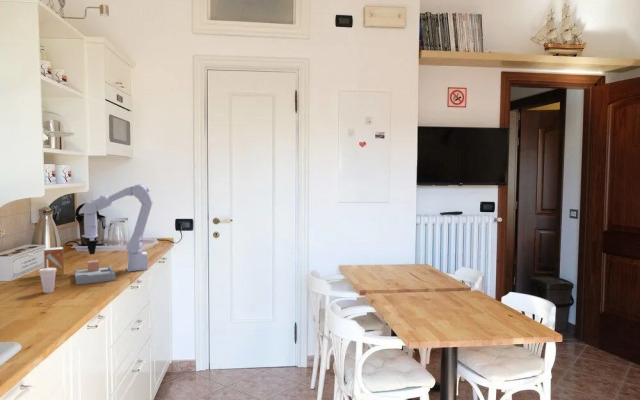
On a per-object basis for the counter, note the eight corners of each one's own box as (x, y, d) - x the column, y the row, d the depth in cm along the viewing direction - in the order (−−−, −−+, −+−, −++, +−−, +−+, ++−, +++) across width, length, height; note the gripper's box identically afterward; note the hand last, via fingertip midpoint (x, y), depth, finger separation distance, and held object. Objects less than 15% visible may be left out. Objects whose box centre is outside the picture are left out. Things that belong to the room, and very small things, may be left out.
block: (97, 268, 220) (97, 260, 220) (98, 270, 216) (98, 261, 216) (87, 270, 218) (87, 261, 218) (88, 271, 214) (88, 262, 214)
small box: (44, 277, 212) (43, 250, 211) (44, 274, 217) (43, 248, 216) (64, 274, 216) (63, 248, 215) (63, 272, 221) (62, 246, 220)
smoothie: (38, 294, 182) (37, 261, 181) (40, 290, 188) (39, 258, 187) (57, 292, 185) (55, 259, 184) (57, 289, 191) (56, 257, 190)
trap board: (110, 270, 225) (110, 264, 225) (115, 280, 206) (115, 273, 206) (74, 274, 217) (74, 267, 216) (76, 284, 198) (76, 277, 197)
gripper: (81, 225, 226) (81, 251, 227) (82, 228, 214) (83, 256, 215) (96, 224, 230) (97, 250, 231) (98, 227, 217) (99, 254, 218)
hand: (91, 253), depth 223 cm, fingers open, 6 cm apart
